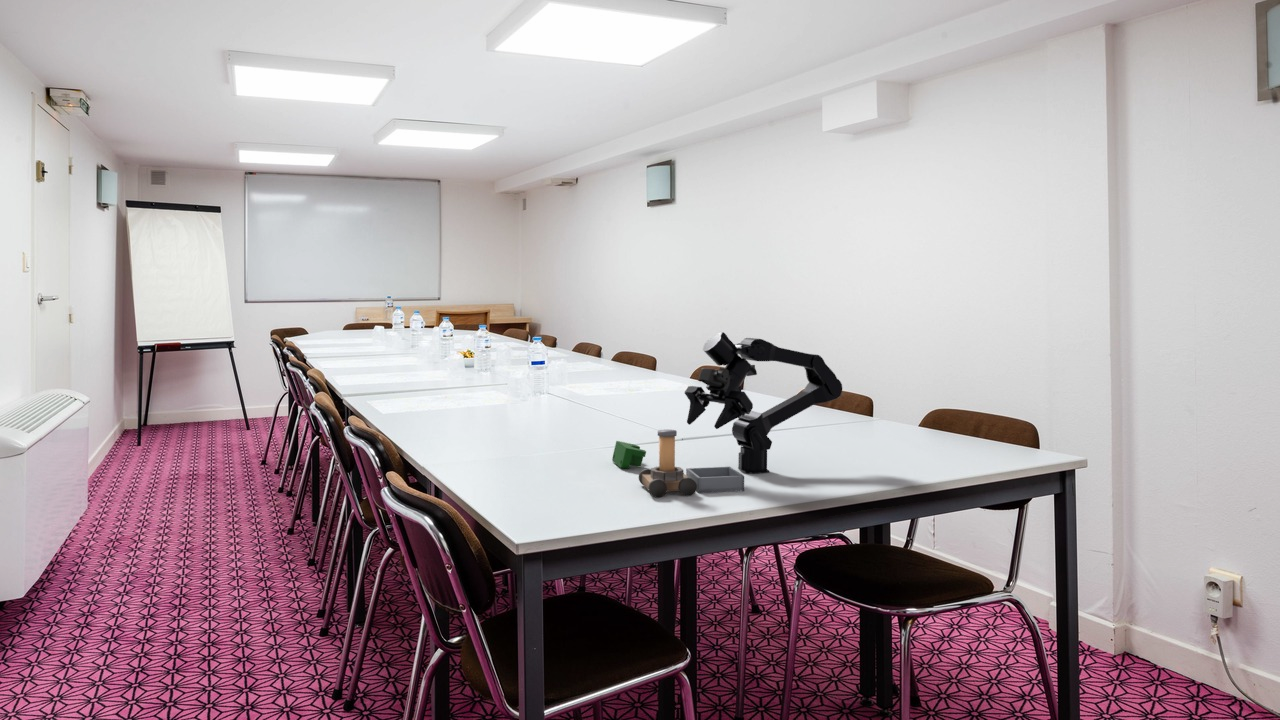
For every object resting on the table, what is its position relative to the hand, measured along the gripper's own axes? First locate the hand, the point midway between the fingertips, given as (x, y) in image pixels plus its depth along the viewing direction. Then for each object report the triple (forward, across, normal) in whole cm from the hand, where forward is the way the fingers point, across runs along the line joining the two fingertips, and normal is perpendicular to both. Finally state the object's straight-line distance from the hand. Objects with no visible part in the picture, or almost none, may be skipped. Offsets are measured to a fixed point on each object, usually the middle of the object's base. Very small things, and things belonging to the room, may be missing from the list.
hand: (701, 425), depth 202 cm
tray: (+12, +7, +8) cm, 15 cm away
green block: (+10, -26, +9) cm, 29 cm away
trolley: (+19, +2, 0) cm, 19 cm away
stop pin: (+17, +2, -2) cm, 17 cm away
